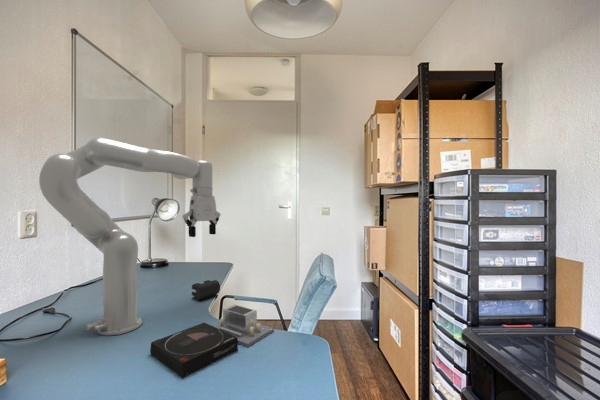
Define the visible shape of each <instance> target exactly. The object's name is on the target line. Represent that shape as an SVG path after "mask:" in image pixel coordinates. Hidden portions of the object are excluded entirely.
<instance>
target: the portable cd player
mask: <svg viewBox="0 0 600 400" xmlns="http://www.w3.org/2000/svg"><path fill="white" fill-rule="evenodd" d="M213 326H214V325H211V324H209V323H206V322H202V323H200V324H196V325H194V326H191V327H188V328H186V329H183V330H180V331H178V332H175V333H172V334H170V335H167V336H164V337H161V338H159V339H156V340H154V341H151V342H150V350H149V353H150V355H151V356H152V357H153V358H155V360H157V361H158V362H160V363H161V364H163V366H165V367H167V368H168V369H170V370H171V371H172V372H173V373H175V374H176V375H177V376H179V377H180V378H182V379H184V378H186V377H189V376H190V375H192V374H195V373H196V372H198V371H199V370H202V369H204V368H205V367H208V366H210V365H211V364H213V363H215V362H217V361H219V360H222V359H223V358H226V357H227V356H229V355H231V354H234V353H235V352H237V351H238V350H239V349H238V346H239V344H238V338H237V337H235V336H233V335H231V334H229V333H226V332H224V331H222V330H220V329H218V328H215V327H213Z"/></svg>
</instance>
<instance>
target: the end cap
mask: <svg viewBox="0 0 600 400" xmlns="http://www.w3.org/2000/svg"><path fill="white" fill-rule="evenodd" d="M191 289H192V290H195V291H191V296H192V300H194V301H198V302H199V301H202V300H205V299H208V298H212V297H214V296H216V295H218V294H219V293H220V291H221V283H220V282H219V281H218V280H217V279H214V280H210V279H207V280H204V281H203V283H199V282H196V283H193V284H192V285H191Z"/></svg>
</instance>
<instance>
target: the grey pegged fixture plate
mask: <svg viewBox="0 0 600 400" xmlns="http://www.w3.org/2000/svg"><path fill="white" fill-rule="evenodd" d="M212 326H213V327H215V328H218V329H220V330H222V331H224V332H226V333H229V334H231V335H233V336H235V337H237V338H238V345H241V346H243V347H246V348H249V347H252V345H254V344H256V343H258V342H259V341H261V340H262V339H264V338H265V337H267V336H269V335H270V334H272V333H274V332H275V331H274V329H275V328H274V327H271V326H268V325H265V324H261V323H260V322H257V324H256V330H255V331H254V327H253V326H251V327H250V334H248V335H246V336H245V335H243V334H241V333H239V332H236V331H233V330H230V329H227V328H224V327H223V316H222V317H220V322H218V323H216V324H214V325H212ZM262 328H264V329H262ZM270 329H272V330H270Z"/></svg>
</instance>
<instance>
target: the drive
mask: <svg viewBox="0 0 600 400" xmlns="http://www.w3.org/2000/svg"><path fill="white" fill-rule="evenodd" d="M257 313H258V310H257V309H256V310H255V309H252V308H248V307H245V306H241V305H237V304H232V305H230V306H227V307H225V308H223V309H222V317H223V327H224V328H227V329H230V330H233V331H236V332H239V333H241V334H243V335H245V336H246V335H248V334H250V327H251V326H253V327H254V331H255V330H256V324H257V323H258V317H257V316H258V315H257Z"/></svg>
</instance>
